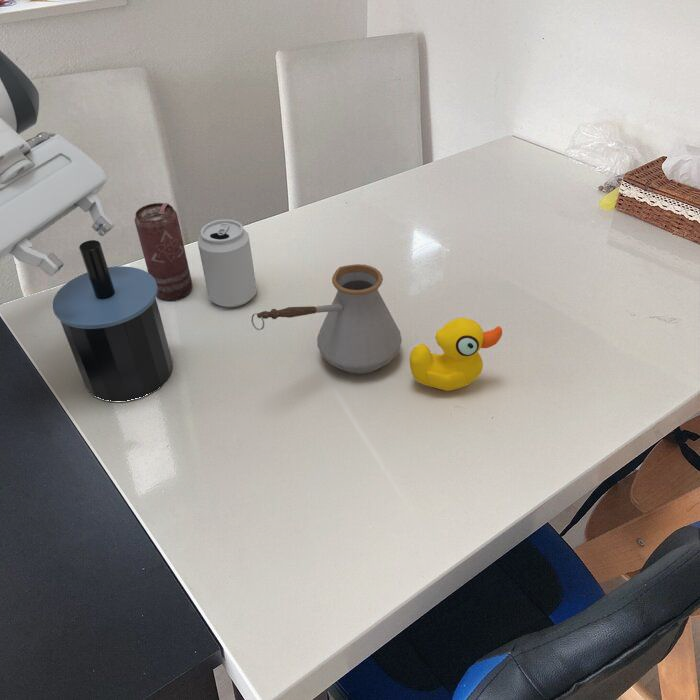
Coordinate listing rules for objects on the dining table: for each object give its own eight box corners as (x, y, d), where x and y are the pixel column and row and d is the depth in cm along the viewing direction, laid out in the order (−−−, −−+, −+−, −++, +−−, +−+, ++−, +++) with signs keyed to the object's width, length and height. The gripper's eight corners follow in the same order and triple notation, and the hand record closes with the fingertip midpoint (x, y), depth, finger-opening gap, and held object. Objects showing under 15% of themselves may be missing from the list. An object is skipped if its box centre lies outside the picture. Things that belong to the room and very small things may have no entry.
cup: (92, 413, 87) (62, 337, 79) (80, 360, 95) (52, 286, 87) (181, 386, 90) (161, 310, 82) (162, 337, 98) (143, 264, 90)
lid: (61, 344, 79) (37, 286, 74) (50, 288, 88) (29, 233, 82) (168, 315, 82) (153, 257, 77) (148, 264, 91) (133, 210, 86)
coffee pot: (362, 319, 100) (360, 230, 90) (418, 356, 93) (422, 264, 84) (242, 387, 90) (225, 294, 80) (295, 434, 83) (283, 339, 73)
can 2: (201, 307, 104) (186, 239, 96) (220, 280, 109) (207, 213, 102) (247, 313, 102) (236, 244, 94) (264, 285, 108) (254, 218, 100)
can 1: (200, 281, 109) (183, 202, 100) (182, 304, 105) (163, 223, 96) (165, 276, 111) (146, 198, 102) (147, 298, 106) (125, 219, 97)
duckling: (490, 366, 91) (498, 306, 85) (499, 394, 87) (508, 333, 81) (406, 372, 91) (408, 312, 85) (411, 399, 87) (413, 339, 80)
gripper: (42, 142, 86) (125, 223, 90) (-90, 216, 72) (15, 309, 75) (60, 111, 82) (146, 196, 86) (-76, 182, 67) (34, 282, 71)
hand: (84, 250), depth 80 cm, fingers open, 8 cm apart
